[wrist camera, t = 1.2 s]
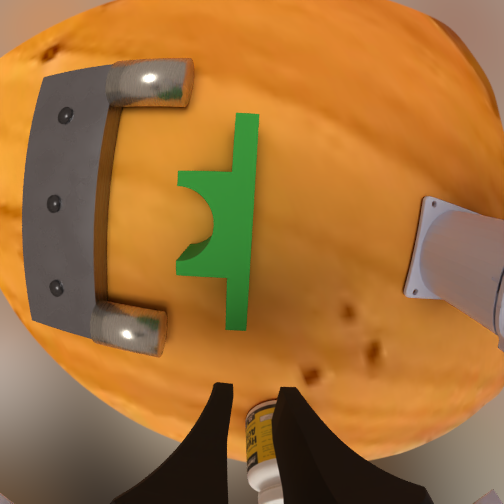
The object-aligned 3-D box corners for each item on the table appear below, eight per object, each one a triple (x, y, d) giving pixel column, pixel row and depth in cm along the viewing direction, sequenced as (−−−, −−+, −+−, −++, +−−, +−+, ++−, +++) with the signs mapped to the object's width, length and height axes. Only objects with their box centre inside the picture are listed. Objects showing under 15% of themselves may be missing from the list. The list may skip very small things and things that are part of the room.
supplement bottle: (242, 399, 21) (246, 497, 11) (306, 394, 21) (335, 485, 11) (246, 436, 22) (251, 520, 12) (302, 431, 22) (322, 511, 13)
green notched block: (196, 130, 16) (182, 111, 12) (254, 132, 16) (259, 113, 12) (190, 296, 19) (177, 327, 14) (244, 300, 19) (246, 332, 14)
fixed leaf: (196, 70, 15) (188, 49, 12) (167, 342, 19) (156, 366, 16) (57, 81, 14) (35, 70, 11) (44, 312, 18) (24, 328, 15)
